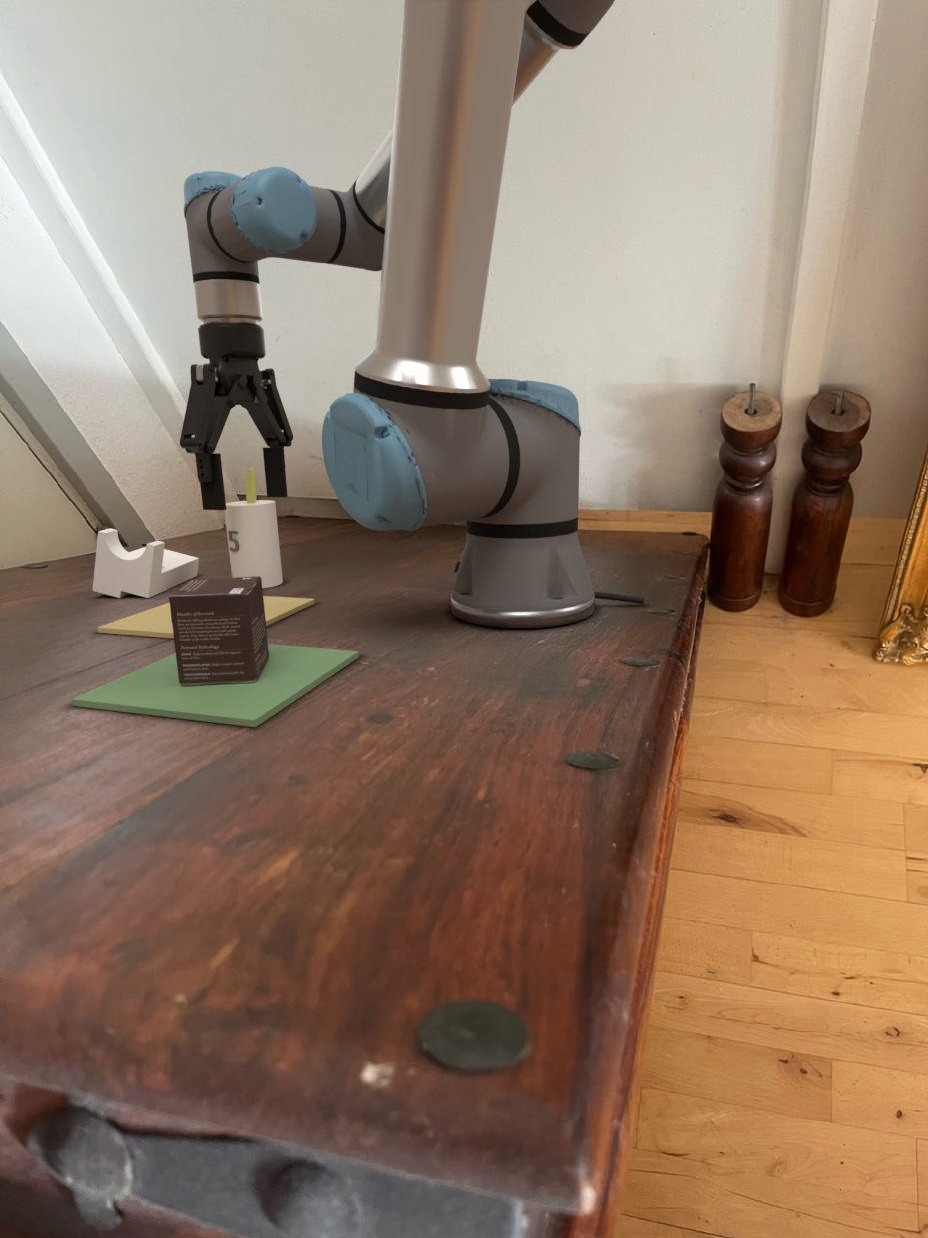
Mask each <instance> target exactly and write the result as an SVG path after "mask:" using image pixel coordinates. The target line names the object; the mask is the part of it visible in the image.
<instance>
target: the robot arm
mask: <svg viewBox="0 0 928 1238" xmlns="http://www.w3.org/2000/svg"><path fill="white" fill-rule="evenodd" d="M615 1H616V0H403V7H402V8H403V10H402V19H401V20H402V22H401V32H400V33H401V34H400V46H399V58H398V69H397V70H398V71H397V81H396V92H395V93H396V94H395V104H394V105H395V106H394V115H393V116H394V118H393V126H392V128H391V129H390V130H389V132H388V133H387V135H386V136H385V138H384V139H383V141H382V142H381V144H380V145H379V146H378V148H377V149H376V151H375V153H374V154H373V156H371V158H370V160H369V161H368V162H367V164H366V166H365V167H364V169H363V170H362V171H361V173H360V175H358V176H357V178H356V179H355V180H354V182H353V183H352V185H351V186H350V188H349V189H348V190H347V191H341V190H335V189H330V188H323V187H319V186H315V185H309V184H308V182H307V181H306V180H305V179H303V178H302V177H301V176H300V175H299V174H297V172H295V171H294V170H292V169H290V168H287V167H284V166H270V167H266V168H261V169H257V171H252V172H250V173H249V174H247V175H245V176H244V177H243V176H241V175H238V174H235V173H231V172H227V171H218V170H206V171H203V172H195V173H192V174H190V175H189V176H187V177H186V178H185V181H184V183H183V198H184V199H183V200H184V203H183V204H184V207H183V216H184V219H185V223H186V233H187V240H188V248H189V257H190V265H191V266H190V267H191V273H192V283H193V289H194V298H195V299H194V300H195V309H196V318H197V319H198V320H199V321H200V322H202V324H200V325H199V327H198V328H197V331H198V342H199V350H200V351H199V352H200V355H201V357H202V358H203V359H206V360H208V361H209V362H208V363H192V364H191V365H190V388H189V391H188V392H189V393H188V396H187V397H188V398H187V403H186V407H185V408H186V409H185V413H184V418H183V421H182V422H183V423H182V429H181V433H180V438H179V446H180V447H181V449H185V452H186V453H187V454H194V456H195V465H196V472H197V473H196V475H197V480H198V482H199V485H200V494H201V495H200V496H201V501H202V503H201V504H202V510H203V511H224V510H226V503H227V501H226V494H225V493H226V492H225V484H224V483H225V481H224V475H223V473H224V472H223V465H222V463H223V462H222V454H221V452H220V453H217V452H215V451H216V449H217V447H218V444H219V441H220V438H221V436H222V434H223V431H224V428H225V426H226V423H227V421H228V418H229V416H230V413H231V410H232V409H234V408H235V407H236V406H240V407H242V408H243V409H245V410H246V412H247V413H248V414H249V416H250V418H251V420H252V422H253V423H254V425H255V427H256V429H257V430H258V432H259V434H260V436H261V437H262V439H263V441H264V442H265V444H266V446H265V447H262V455H263V467H264V478H265V488H266V497H267V498H288V497H289V496H288V485H287V484H288V483H287V471H286V459H285V458H286V457H285V456H286V455H285V447H286V448H288V447H291V446H292V441H293V440H294V433H293V430H292V427H291V425H290V422H289V419H288V416H287V413H286V409H285V407H284V403H283V401H282V398H281V395H280V392H279V390H278V386H277V379H276V373H275V370H274V368H272V367H271V368H260V367H259V360H262V359H264V358H265V357H266V354H267V353H266V342H265V331H264V328H262V327H263V326H261V325H260V324H259V323H260V322H262V321H263V319H264V314H263V306H262V305H263V304H262V294H261V283H260V275H259V262H260V261H263V260H265V259H268V258H272V259H273V258H276V259H282V260H283V259H285V260H293V261H299V262H308V263H315V264H327V265H333V266H340V267H347V268H354V269H361V270H365V271H370V272H381V274H380V283H379V284H380V286H379V296H378V297H379V298H378V309H377V310H378V311H377V322H376V333H375V342H374V343H375V345H374V346H373V348H372V349H371V351H370V352H368V353H367V354H366V355H365V356H364V357H363V358H362V359H361V360H359V361H358V362H357V363H356V364H355V366H354V375H353V376H354V377H353V391H352V392H347V393H345V394H344V395H342V396H339V397H337V398H336V399H335V400H333V401H332V403H331V404H330V406H329V410H328V411H327V412H326V413H325V416H324V418H323V423H322V430H321V448H322V449H321V450H322V458H323V463H324V467H325V471H326V475H327V478H328V480H329V483H330V484H329V485H331V488H332V490H333V492H334V493H335V496H336V499H337V500H338V502H339V504H340V506H342V508H343V509H344V510H345V512H346V513H347V514H348V515H349V516H350V518H352V520H354V521H355V522H357V523H358V524H359V525H360V526H362V527H364V528H366V529H368V530H372V531H376V532H377V531H378V532H387V531H388V532H390V531H400V530H401V531H404V532H405V531H406V532H407V531H408V532H412V531H416V530H419V529H420V528H426V527H432V526H439V525H440V526H441V525H445V524H452V523H458V522H465V532H466V533H465V534H466V535H465V536H466V537H465V538H466V539H465V544H464V548H463V550H462V554H461V557H460V561H458V562H457V561H456V563H455V567H454V572H453V574H456V575H455V578H454V582H453V586H452V588H451V594H450V605H451V608H450V609H451V614H452V615H453V616H454V617H455V618H457V619H459V620H461V621H464V622H467V623H470V624H475V625H479V626H485V627H492V628H505V629H536V628H549V627H556V626H562V625H568V624H573V623H576V622H579V621H582V620H585V619H587V618H589V617H590V616H592V615H593V614H594V613H595V607H596V606H595V602H596V599H598V600H599V599H600V600H608V601H616V602H625V603H633V604H640V605H643V604H644V603H645V597H641V596H636V595H635V596H634V595H627V594H619V593H612V592H611V593H610V592H602V591H595V590H594V585H593V582H592V579H591V576H590V573H589V570H588V566H587V564H586V563H587V562H586V560H585V556H584V554H583V551H582V547H581V544H580V541H579V503H580V502H579V499H580V495H579V494H580V453H581V451H580V449H581V448H580V446H581V445H580V444H581V443H580V442H581V437H582V427H581V425H580V411H579V409H580V408H579V401H578V399H577V396H576V395H575V394H574V393H573V392H572V391H571V390H570V389H569V388H567V387H565V386H561V385H557V384H555V383H554V384H553V383H549V382H543V381H535V380H519V379H518V380H517V379H512V378H487V377H486V375H485V374H484V372H483V370H482V368H480V366H479V364H478V360H477V356H478V348H479V341H480V334H481V328H482V322H483V321H482V320H483V314H484V307H485V300H486V292H487V286H488V278H489V272H490V266H491V257H492V249H493V243H494V236H495V228H496V222H497V215H498V209H499V208H498V207H499V201H500V194H501V187H502V180H503V173H504V166H505V159H506V151H507V144H508V138H509V129H510V123H511V116H512V110H513V109H512V108H513V106H514V105H515V104H516V103H517V101H518V100H519V99H520V98H521V97H522V96H523V94H524V93H525V92H526V90H527V89H528V88H529V87H530V86H531V84H533V82H534V81H535V80H536V79H537V77H538V76H539V75H540V74H541V73H542V71H543V70H544V69H545V68H546V67H547V66H548V64H549V63H550V62H551V61H552V59H553V58H554V57H555V56H556V55H557V54H558V53H559V51H560V50H576V49H577V48H579V47H580V46H581V44H582V43H583V42H584V41H585V40H586V39H587V37H588V36H589V35H590V34H591V33H592V31H594V30H595V28H596V27H597V26H598V24H599V23H600V22H601V21H602V19H603V18H604V17H605V15H606V14H607V13H608V12H609V10H610V9H611V7H612V6H613V4H614V3H615Z"/></svg>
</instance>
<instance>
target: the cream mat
mask: <svg viewBox="0 0 928 1238" xmlns="http://www.w3.org/2000/svg"><path fill="white" fill-rule="evenodd" d="M263 599H264V609H265V619H266V627H268V626H271V625H273V624H275V623H277V622H279V621H281V620H283V619H285V618H288V617H289V616H291V615H294V614H296V613H298V612H301V611H302V610H304V609H306V608H308V607H311V606H313V605H315V604H316V601H315V600H316V599H315V598H308V597H307V598H306V597H288V596H272V595H271V596H268V595H263ZM97 633H99V634H109V635H120V636H121V635H122V636H134V637H148V638H159V639H161V638H162V639H173V640H174V635H173V628H172V619H171V609H170V602H167V603H164V604H161V605H158V606H155V607H152V608H149V609H147V610H143V611H141V612H138V613H135V614H132V615H129V616H126V617H124V618H121V619H117V620H114V621H111V622H109V623H106V624H103V625H100V626H98V627H97Z"/></svg>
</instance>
